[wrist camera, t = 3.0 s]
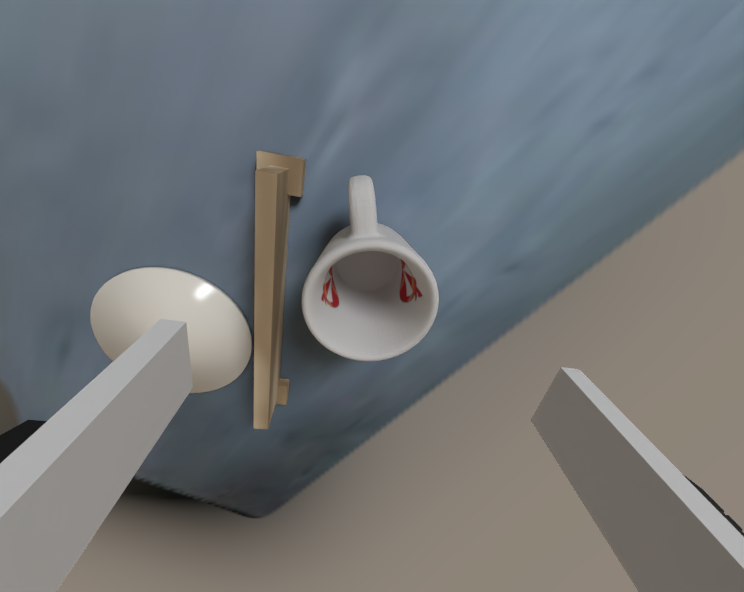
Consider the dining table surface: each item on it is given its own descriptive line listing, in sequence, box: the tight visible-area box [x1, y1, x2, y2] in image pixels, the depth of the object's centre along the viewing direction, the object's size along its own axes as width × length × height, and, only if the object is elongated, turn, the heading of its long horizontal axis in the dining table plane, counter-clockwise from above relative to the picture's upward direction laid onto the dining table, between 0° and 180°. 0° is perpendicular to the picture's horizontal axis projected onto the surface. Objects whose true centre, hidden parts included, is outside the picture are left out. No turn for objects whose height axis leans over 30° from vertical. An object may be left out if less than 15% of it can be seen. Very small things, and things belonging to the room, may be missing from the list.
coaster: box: [91, 267, 253, 393], centre depth 27 cm, size 13×13×1 cm
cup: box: [302, 175, 439, 361], centre depth 20 cm, size 11×8×8 cm
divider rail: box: [254, 151, 306, 429], centre depth 24 cm, size 3×22×4 cm, turn 170°
